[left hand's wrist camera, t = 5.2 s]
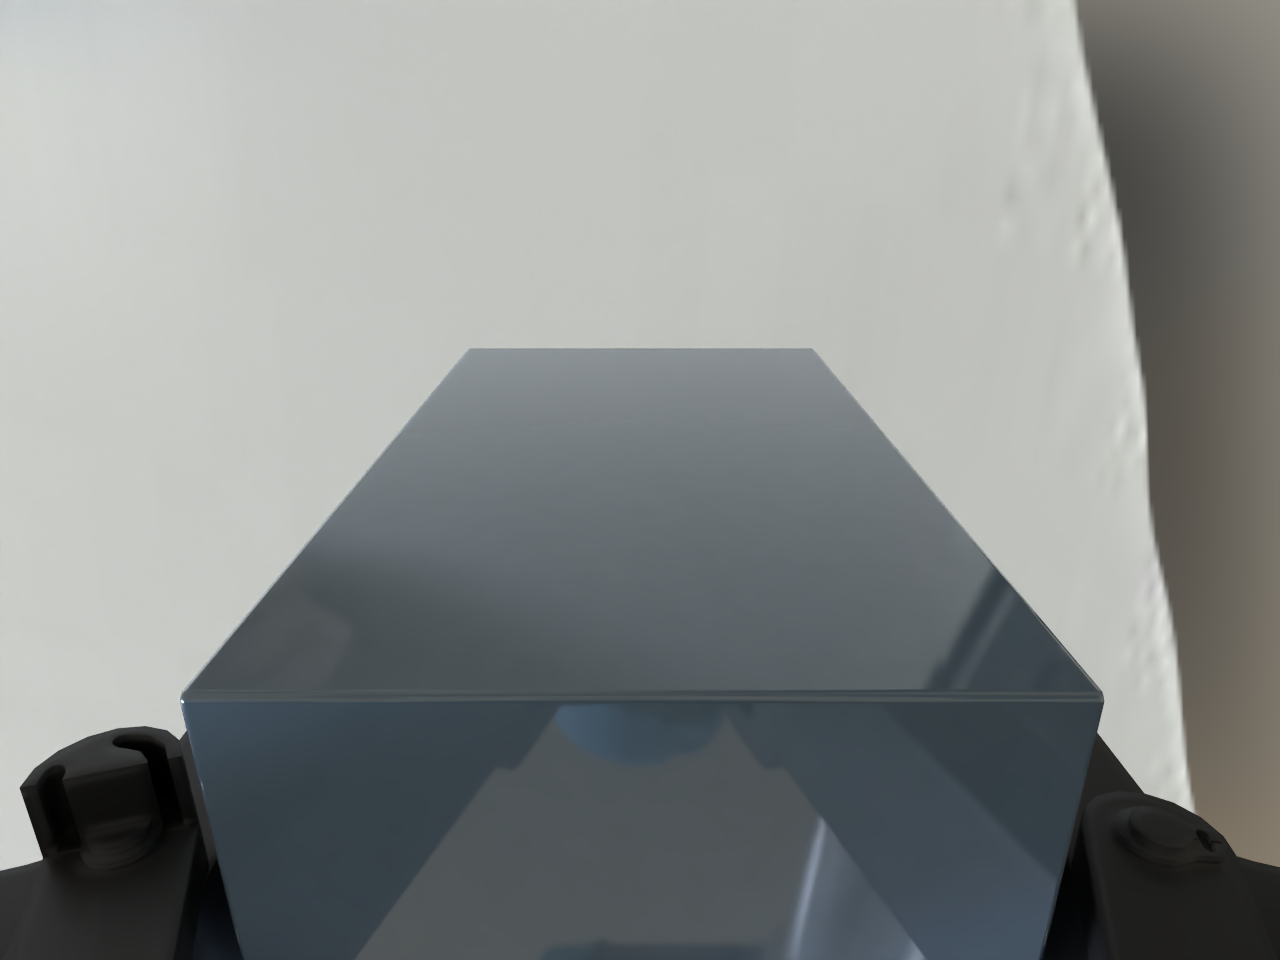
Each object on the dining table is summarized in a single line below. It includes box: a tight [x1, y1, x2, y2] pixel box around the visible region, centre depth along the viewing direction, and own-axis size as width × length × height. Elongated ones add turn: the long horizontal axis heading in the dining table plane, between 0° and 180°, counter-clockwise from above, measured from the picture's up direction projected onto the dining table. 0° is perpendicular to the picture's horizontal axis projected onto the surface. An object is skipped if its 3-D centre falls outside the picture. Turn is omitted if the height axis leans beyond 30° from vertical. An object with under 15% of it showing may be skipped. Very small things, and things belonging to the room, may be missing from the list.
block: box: [180, 349, 1104, 960], centre depth 12 cm, size 7×6×11 cm
